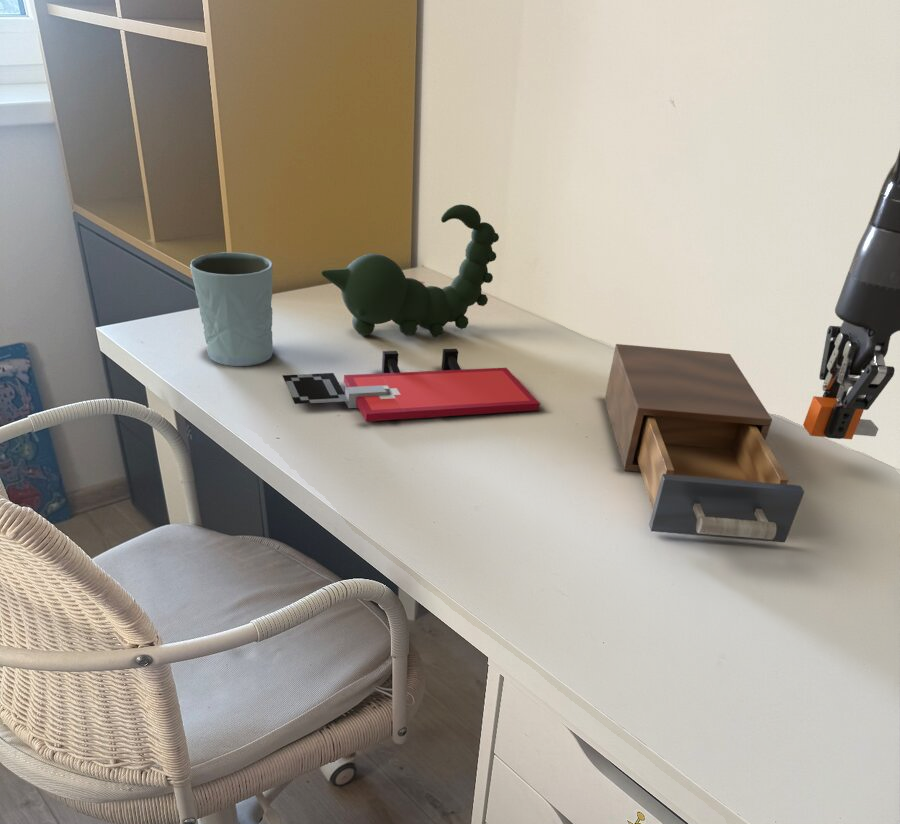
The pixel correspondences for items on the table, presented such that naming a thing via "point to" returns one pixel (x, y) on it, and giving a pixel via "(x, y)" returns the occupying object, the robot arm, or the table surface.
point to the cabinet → (676, 392)
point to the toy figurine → (417, 285)
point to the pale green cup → (235, 306)
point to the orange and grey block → (821, 414)
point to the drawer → (714, 480)
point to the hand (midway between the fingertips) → (828, 429)
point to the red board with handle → (417, 390)
